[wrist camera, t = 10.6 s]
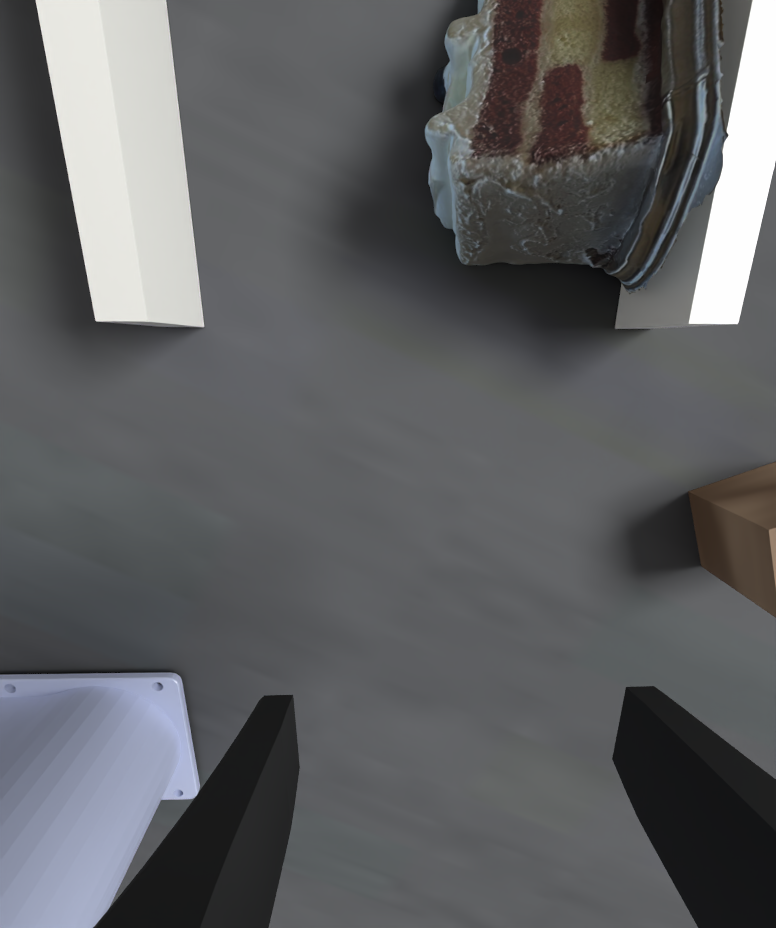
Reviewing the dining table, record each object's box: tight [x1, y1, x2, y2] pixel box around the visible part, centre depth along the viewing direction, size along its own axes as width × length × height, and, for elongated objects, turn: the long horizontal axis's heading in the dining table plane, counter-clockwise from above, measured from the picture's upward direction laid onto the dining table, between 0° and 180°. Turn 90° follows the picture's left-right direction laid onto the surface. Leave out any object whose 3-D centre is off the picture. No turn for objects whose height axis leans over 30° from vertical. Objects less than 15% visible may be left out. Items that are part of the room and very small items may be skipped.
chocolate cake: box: [425, 0, 729, 294], centre depth 13 cm, size 10×7×12 cm
